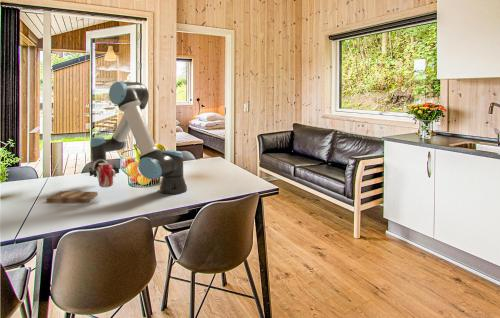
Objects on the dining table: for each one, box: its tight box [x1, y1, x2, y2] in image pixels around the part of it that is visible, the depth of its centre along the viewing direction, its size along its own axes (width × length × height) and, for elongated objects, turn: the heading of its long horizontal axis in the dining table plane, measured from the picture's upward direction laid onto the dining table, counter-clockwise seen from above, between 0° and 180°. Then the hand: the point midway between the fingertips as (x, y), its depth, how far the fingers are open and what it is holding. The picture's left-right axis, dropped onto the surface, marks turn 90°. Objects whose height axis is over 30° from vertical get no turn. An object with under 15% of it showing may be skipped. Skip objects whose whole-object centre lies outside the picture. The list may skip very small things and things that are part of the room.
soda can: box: [97, 161, 114, 188], centre depth 179 cm, size 7×7×12 cm
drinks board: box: [46, 190, 99, 204], centre depth 181 cm, size 20×13×2 cm, turn 90°
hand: (106, 174), depth 175 cm, fingers closed on soda can, 7 cm apart
